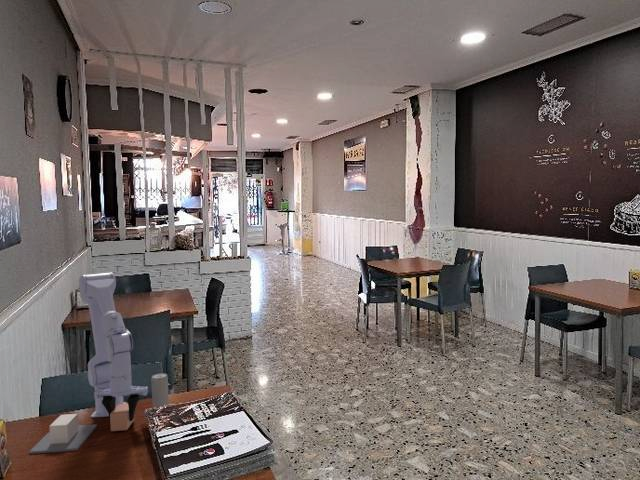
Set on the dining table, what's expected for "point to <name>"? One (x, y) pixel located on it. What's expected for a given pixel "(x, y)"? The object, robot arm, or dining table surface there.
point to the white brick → (63, 428)
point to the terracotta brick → (120, 418)
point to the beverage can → (160, 390)
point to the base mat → (72, 445)
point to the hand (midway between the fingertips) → (122, 420)
